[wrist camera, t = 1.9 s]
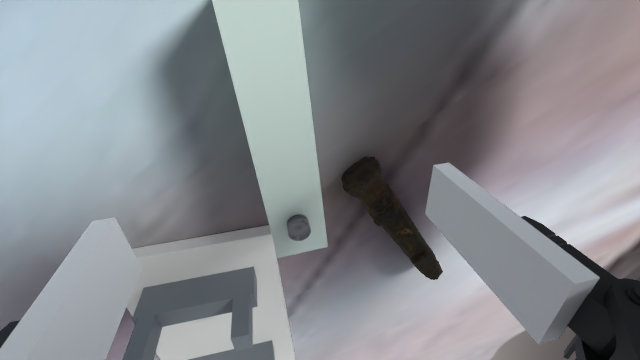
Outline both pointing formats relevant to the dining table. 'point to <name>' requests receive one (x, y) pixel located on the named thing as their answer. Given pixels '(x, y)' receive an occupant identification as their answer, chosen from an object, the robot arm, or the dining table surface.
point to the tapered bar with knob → (276, 116)
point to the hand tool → (389, 213)
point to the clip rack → (210, 300)
